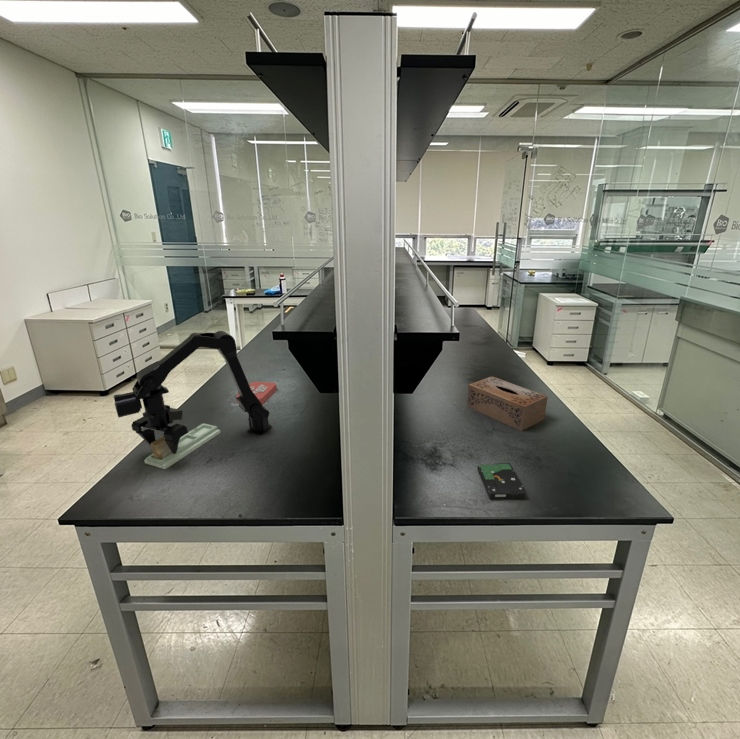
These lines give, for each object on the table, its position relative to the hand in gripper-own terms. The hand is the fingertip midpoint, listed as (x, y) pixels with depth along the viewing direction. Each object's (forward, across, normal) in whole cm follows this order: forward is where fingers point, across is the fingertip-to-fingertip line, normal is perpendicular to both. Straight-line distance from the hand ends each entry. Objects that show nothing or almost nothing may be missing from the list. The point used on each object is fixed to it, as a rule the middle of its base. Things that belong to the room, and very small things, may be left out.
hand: (164, 450), depth 137 cm
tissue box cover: (+4, -98, -76) cm, 124 cm away
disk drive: (+4, -103, -28) cm, 107 cm away
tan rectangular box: (+2, 0, 0) cm, 2 cm away
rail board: (+3, 0, -8) cm, 9 cm away
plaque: (+4, +5, -52) cm, 53 cm away
